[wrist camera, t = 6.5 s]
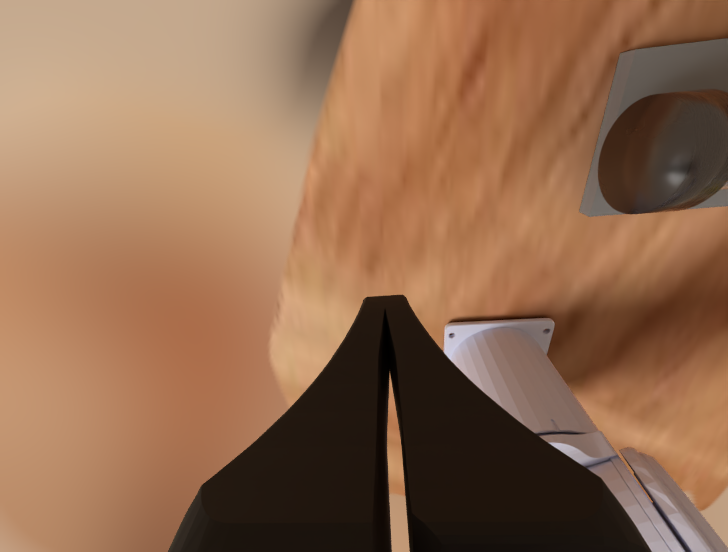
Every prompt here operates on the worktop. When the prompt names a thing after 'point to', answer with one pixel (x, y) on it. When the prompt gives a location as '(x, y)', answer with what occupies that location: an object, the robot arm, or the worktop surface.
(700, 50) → the shaft stand
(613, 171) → the shaft
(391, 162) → the worktop surface
